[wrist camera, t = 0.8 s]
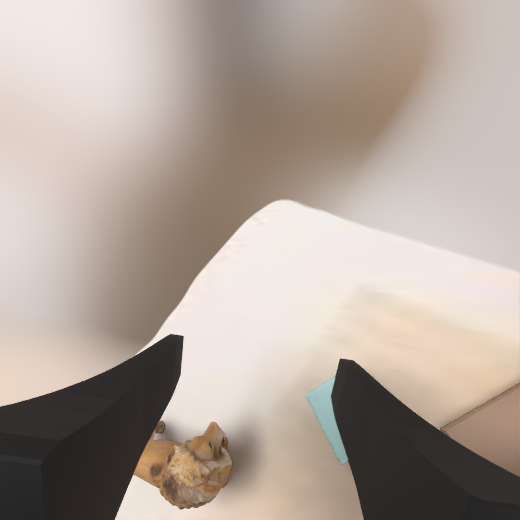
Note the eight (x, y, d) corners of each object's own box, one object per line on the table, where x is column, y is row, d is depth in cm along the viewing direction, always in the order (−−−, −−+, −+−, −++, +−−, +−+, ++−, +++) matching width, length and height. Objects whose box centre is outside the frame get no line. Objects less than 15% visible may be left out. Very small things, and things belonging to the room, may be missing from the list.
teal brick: (401, 426, 20) (402, 429, 16) (351, 455, 21) (341, 465, 17) (363, 371, 23) (356, 362, 19) (320, 397, 23) (305, 395, 19)
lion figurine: (263, 419, 24) (208, 422, 17) (263, 494, 22) (199, 534, 15) (145, 419, 30) (66, 421, 23) (134, 479, 27) (40, 503, 20)
